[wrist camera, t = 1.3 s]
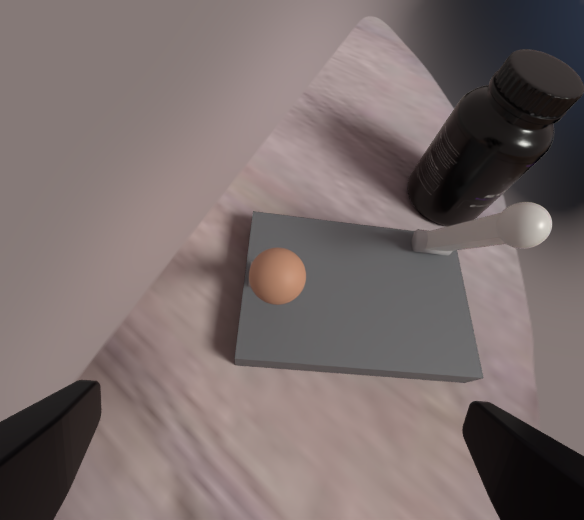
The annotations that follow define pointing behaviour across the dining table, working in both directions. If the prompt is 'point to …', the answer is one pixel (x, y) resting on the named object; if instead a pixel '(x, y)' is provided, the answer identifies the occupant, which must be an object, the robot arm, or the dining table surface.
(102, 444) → the dining table surface
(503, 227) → the pale grey lever
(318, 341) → the switch panel
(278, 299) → the terracotta lever
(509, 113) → the supplement bottle
